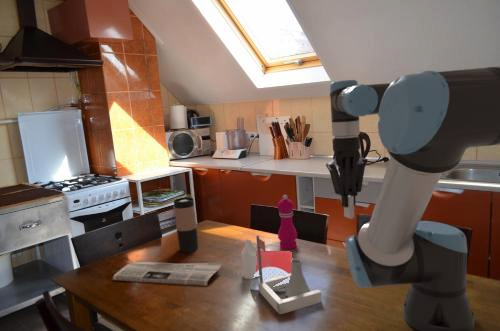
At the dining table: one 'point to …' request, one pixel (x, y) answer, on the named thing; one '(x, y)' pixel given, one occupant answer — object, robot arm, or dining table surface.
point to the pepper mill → (286, 224)
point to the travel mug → (186, 224)
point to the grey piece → (249, 259)
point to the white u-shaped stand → (272, 297)
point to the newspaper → (168, 272)
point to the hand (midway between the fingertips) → (349, 217)
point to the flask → (296, 280)
